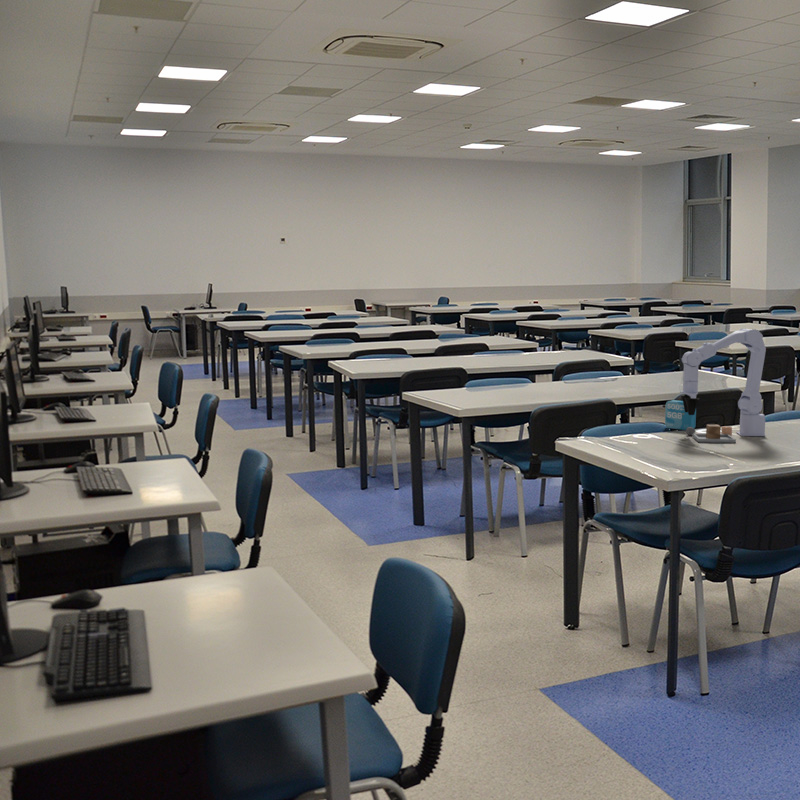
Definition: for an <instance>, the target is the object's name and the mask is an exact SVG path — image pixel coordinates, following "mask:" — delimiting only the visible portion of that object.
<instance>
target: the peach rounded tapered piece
mask: <svg viewBox="0 0 800 800" xmlns="http://www.w3.org/2000/svg"><path fill="white" fill-rule="evenodd" d="M720 434H729V435H730V436H732V435H733V427H732V426H726V425H724V426H721V431H720ZM732 437H733V436H732Z"/></svg>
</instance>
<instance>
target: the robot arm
mask: <svg viewBox="0 0 800 800" xmlns="http://www.w3.org/2000/svg"><path fill="white" fill-rule="evenodd" d="M735 343H736V344H741V345H743V346H745V348H747V349H748V350H749V351H750V357H749V363H748V368H747V369H748V370H747V375H746V381H745V389H744V390H743V391H742V392H741V396H740V398H739V400H738V401H737V406H738V409H739V410H740V413H739V417H740V418H739V431H736V434H738V435H740V436H741V437H765V436H766V433H765V432H766V416H765V414H764V413H760V412H761V411H762V409H763V401H762V398H763V397H762V394H761V393H760V387H761V381H762V376H763V370H764V369H763V368H764V363H765V357H766V352H767V351H766V350H767V348H766V345H765V341H764V336H763V334H762V332H761V331H759V330H757V329H756V328H755V329H753V328H752V329H751V328H746V327H745V328H744V327H743V328H740V329H738V330H734V331H733V332H731V333H730V334H728V335H726V336H724V337H723V338H721V339H719V340H717V341H715V342H713V343H712V342H704V343H702V345H701V346H698V347H697V348H695V347H694V348H692V351H687V352H685V353H684V354H683V355H682V358H680V359H681V362H682V365H683V377H682V379H683V380H682V383H683V384H682V390H681V391H680V390H679V393H680V394H682V395H680V398H681V401H683V404H684V410H685V412H688V414H689V415H694V414H695V410H696V411H697V406H698V404H699V402H700V399H701V398H697V395H698V394H699V391H698V389H699V366H700V364H701V363H702V362H704V361H706V360H708V359H709V358H712V357H714V356H716V354H717V351H719V350H721V349H724V348H725V347H729V346H731V345H734V344H735Z"/></svg>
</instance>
